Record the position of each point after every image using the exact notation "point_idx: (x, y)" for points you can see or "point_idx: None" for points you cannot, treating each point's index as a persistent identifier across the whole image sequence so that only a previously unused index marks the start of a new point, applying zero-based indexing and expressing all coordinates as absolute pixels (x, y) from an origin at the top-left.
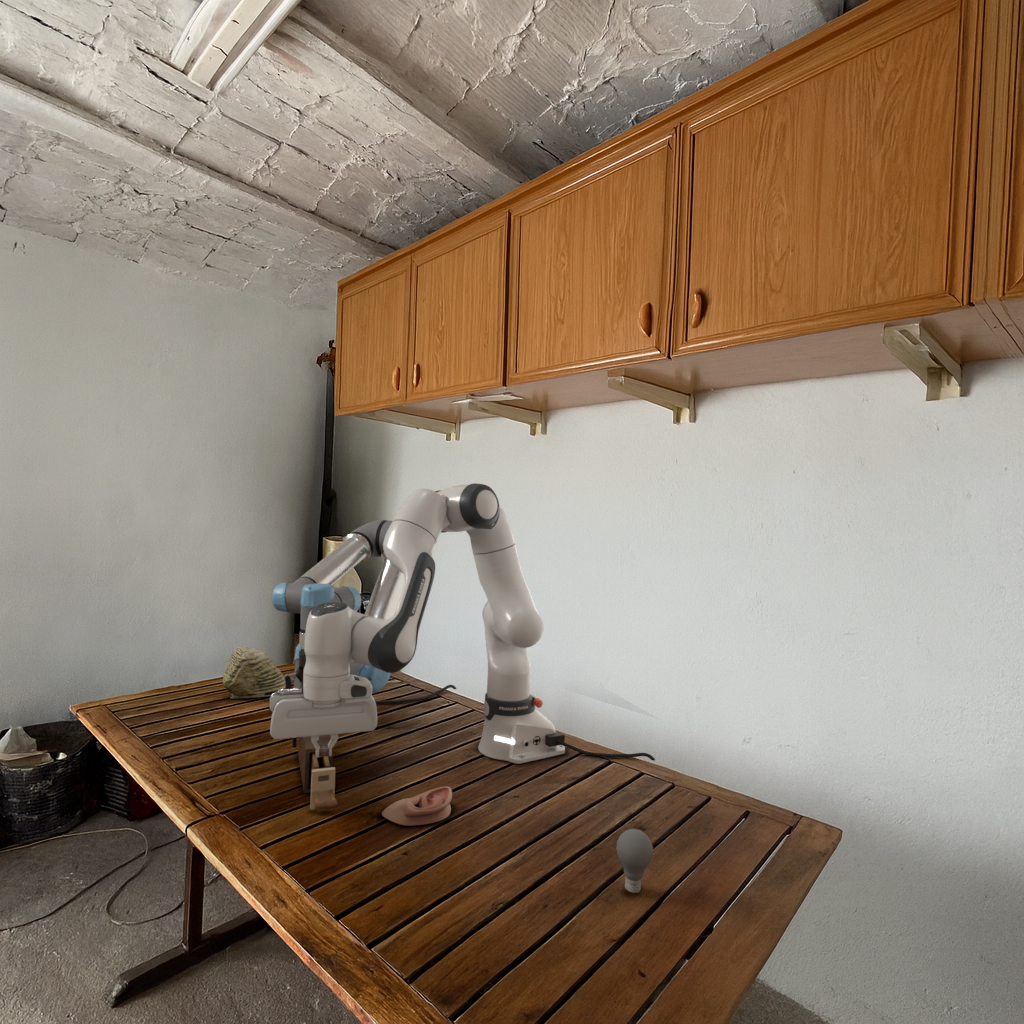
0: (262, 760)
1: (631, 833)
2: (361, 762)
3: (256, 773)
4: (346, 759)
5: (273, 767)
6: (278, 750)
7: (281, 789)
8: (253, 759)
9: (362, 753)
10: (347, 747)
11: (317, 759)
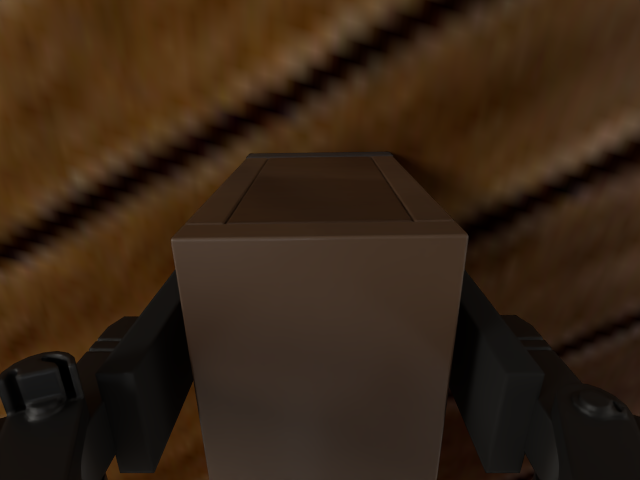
0: (62, 191)
1: None
2: (547, 333)
3: (71, 331)
4: (490, 285)
5: (137, 289)
6: (126, 57)
7: (198, 472)
8: (8, 164)
9: (593, 232)
10: (546, 122)
11: None
